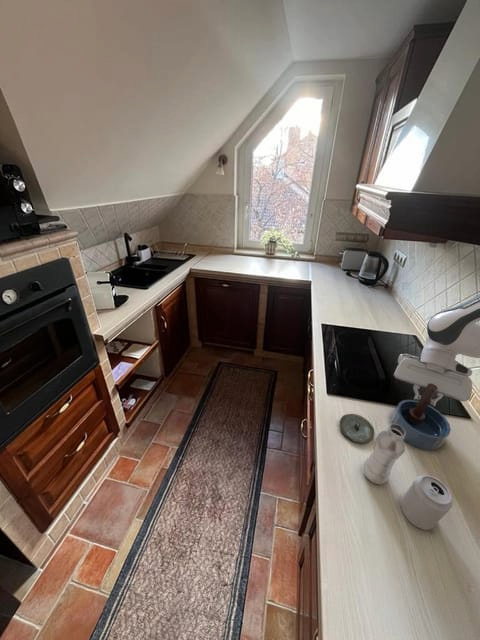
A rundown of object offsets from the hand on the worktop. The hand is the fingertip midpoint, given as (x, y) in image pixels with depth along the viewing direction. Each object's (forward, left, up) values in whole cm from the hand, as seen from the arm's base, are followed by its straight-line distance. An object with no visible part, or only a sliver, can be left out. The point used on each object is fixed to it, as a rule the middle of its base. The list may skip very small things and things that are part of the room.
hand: (424, 402), depth 81 cm
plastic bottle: (+18, +20, -11) cm, 29 cm away
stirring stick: (0, -1, -8) cm, 8 cm away
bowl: (0, +2, -11) cm, 11 cm away
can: (+10, +28, -11) cm, 32 cm away
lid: (+20, +6, -11) cm, 24 cm away
